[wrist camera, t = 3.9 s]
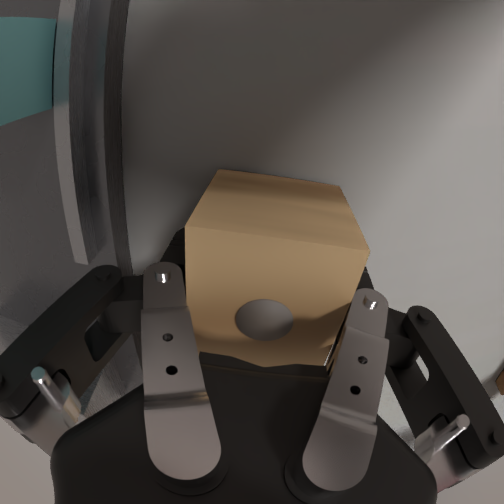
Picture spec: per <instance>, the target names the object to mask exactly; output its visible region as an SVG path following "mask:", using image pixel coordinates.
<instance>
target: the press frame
mask: <svg viewBox="0 0 504 504" xmlns="http://www.w3.org/2000/svg"><path fill="white" fill-rule="evenodd" d="M128 6H129V0H0V17H32V18H48V19H56V26H55V35H54V47H53V63H52V109H49V110H46V111H43V112H39V113H36V114H33V115H30V116H27V117H24V118H21V119H18V120H15V121H13V122H10V123H7V124H5V125H2V126H0V355H1V354H2V353H3V352H4V351H5V350H6V349H7V348H8V346H9V345H10V344H11V343H12V342H13V341H14V340H15V339H16V338H17V337H18V336H19V335H20V334H21V333H22V332H23V331H24V330H25V329H26V328H28V327H29V326H30V325H31V324H32V323H33V322H34V321H35V320H36V319H37V318H38V317H39V316H40V315H41V314H42V313H43V312H44V311H45V310H46V309H47V308H49V307H50V306H51V305H52V304H53V303H54V302H55V301H56V300H57V299H58V298H59V297H61V296H62V295H63V294H64V293H65V292H66V291H67V290H68V289H70V288H71V287H72V286H73V285H74V284H75V283H76V282H78V281H79V280H80V279H81V278H82V277H83V276H84V275H86V274H87V273H88V272H89V271H90V270H92V269H93V268H95V267H97V266H101V265H114V266H116V267H118V268H119V269H120V270H121V272H122V277H126V276H133V272H132V265H131V258H130V250H129V242H128V234H127V225H126V214H125V203H124V190H123V175H122V152H121V89H122V68H123V53H124V41H125V31H126V22H127V14H128ZM96 320H97V318H96V319H95V320H94V321H93V322H92V323H91V324H90V325H89V326H88V328H87V329H86V331H87V330H88V329H89V328H90V327H91V326H92V324H93V323H94V322H95V321H96ZM86 331H85V332H86ZM142 383H143V368H142V345H141V332H132V334H131V335H130V336H129V338H128V339H127V340H126V341H125V342H124V344H123V345H122V346H121V347H120V349H119V350H118V351H117V352H116V353H115V355H114V356H113V357H112V358H111V360H110V361H109V362H108V363H107V365H106V366H105V367H104V368H103V370H102V371H101V372H100V373H99V375H98V376H97V377H96V378H95V380H94V381H93V382H92V383H91V385H90V386H89V387H88V388H87V390H86V391H85V392H84V394H83V395H82V396H81V397H80V399H79V400H80V402H81V412H80V414H79V416H78V421H77V423H76V424H75V425H77V424H79V423H80V422H82V421H84V420H85V419H87V418H89V417H90V416H92V415H93V414H95V413H97V412H98V411H100V410H102V409H103V408H105V407H106V406H108V405H110V404H111V403H113V402H114V401H116V400H118V399H119V398H121V397H122V396H124V395H125V394H127V393H129V392H130V391H132V390H133V389H135V388H136V387H138V386H139V385H141V384H142Z"/></svg>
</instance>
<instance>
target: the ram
mask: <svg viewBox="0 0 504 504" xmlns="http://www.w3.org/2000/svg"><path fill="white" fill-rule="evenodd" d="M55 26H56V19H48V18H32V17H0V126H2V125H5V124H7V123H10V122H13V121H15V120H18V119H21V118H24V117H27V116H30V115H33V114H36V113H39V112H43V111H46V110H49V109H52V63H53V47H54V35H55Z"/></svg>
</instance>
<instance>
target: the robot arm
mask: <svg viewBox="0 0 504 504" xmlns="http://www.w3.org/2000/svg"><path fill="white" fill-rule="evenodd" d="M96 318H97V320H96V321H95V322H94V323H93V324H92V326H91V327H90V328H89V329H88V330H87V331H86V329H87V328H88V326H89V325H90V324H91V323H92V322H93V321H94V320H95V319H96ZM85 331H86V332H85ZM132 332H141V345H142V368H143V383H142V384H141V385H139V386H138V387H136V388H135V389H133V390H132V391H130V392H129V393H127V394H125V395H124V396H122V397H121V398H119V399H118V400H116V401H114V402H113V403H111V404H110V405H108V406H106V407H105V408H103V409H102V410H100V411H98V412H97V413H95V414H93V415H92V416H90V417H89V418H87V419H85V420H84V421H82V422H80V423H79V424H77V425H75V424H76V423H77V421H78V416H79V414H80V412H81V402H80V400H79V399H80V397H81V396H82V395H83V394H84V392H85V391H86V390H87V388H88V387H89V386H90V385H91V383H92V382H93V381H94V380H95V378H96V377H97V376H98V375H99V373H100V372H101V371H102V370H103V368H104V367H105V366H106V365H107V363H108V362H109V361H110V360H111V358H112V357H113V356H114V355H115V353H116V352H117V351H118V350H119V349H120V347H121V346H122V345H123V344H124V342H125V341H126V340H127V339H128V338H129V336H130V335H131V334H132ZM419 355H420V356H421V358H422V360H423V361H424V363H425V365H426V367H427V368H428V371H429V379H428V381H427V380H426V378H425V377H424V375H423V373H422V371H421V369H420V368H419V366H418V364H417V362H416V359H417V358H418V357H419ZM385 375H386V377H387V379H388V381H389V383H390V385H391V388H392V390H393V392H394V394H395V396H396V398H397V400H398V402H399V404H400V406H401V408H402V411H403V413H404V415H405V417H406V419H407V421H408V424H409V426H410V428H411V430H412V432H413V435H414V437H415V439H416V440H415V444H414V451H413V450H412V449H411V448H410V447H409V446H408V445H407V444H406V443H405V442H404V441H403V440H402V439H401V438H400V437H399V436H398V435H397V434H396V433H395V432H394V431H393V430H392V429H391V428H390V426H389V425H388V424H387V423H386V422H385V421H384V420H383V419H382V418H381V417H380V416H379V415H378V414H377V412H378V407H379V402H380V397H381V392H382V387H383V381H384V376H385ZM0 417H1V418H3V420H5V421H6V422H7V423H8V424H9V425H10V426H11V427H12V428H13V429H14V430H15V431H17V432H18V433H20V434H21V435H22V436H23V437H24V438H25V439H27V440H28V441H29V442H31V443H34V444H36V445H37V446H38V447H40V448H41V449H42V450H43V451H44V452H46V453H47V454H48V455H49V456H51V460H50V463H51V464H50V469H51V475H52V480H53V485H54V492H55V493H54V494H55V504H436V500H437V493H439V492H441V491H442V490H444V489H446V488H450V487H452V486H454V485H456V484H458V483H460V482H461V481H463V480H465V479H467V478H469V477H470V476H472V475H474V474H476V473H477V472H479V471H480V470H482V469H484V468H485V467H487V466H489V465H490V464H492V463H493V462H495V461H496V460H498V459H499V458H500V457H502V456H503V455H504V423H503V421H502V419H501V418H500V416H499V414H498V412H497V410H496V408H495V407H494V405H493V403H492V401H491V400H490V398H489V396H488V394H487V393H486V391H485V389H484V388H483V386H482V384H481V383H480V381H479V379H478V378H477V376H476V375H475V373H474V371H473V370H472V368H471V367H470V365H469V364H468V362H467V360H466V359H465V357H464V356H463V354H462V353H461V351H460V350H459V348H458V347H457V345H456V344H455V342H454V341H453V339H452V338H451V337H450V335H449V334H448V332H447V331H446V329H445V328H444V326H443V325H442V324H441V322H440V321H439V320H438V318H437V317H436V315H435V314H434V313H433V312H432V311H430V310H429V309H427V308H425V307H423V306H412V307H410V308H409V310H408V312H407V313H406V314H405V313H402V312H399V311H396V310H394V309H391V308H389V307H388V301H387V299H386V298H385V297H384V296H383V295H382V294H381V293H379V292H378V291H375V290H374V287H373V285H372V282H371V279H370V276H369V274H368V273H367V268H366V267H364V270H363V273H362V275H361V278H360V281H359V283H358V286H357V288H356V291H355V294H354V296H353V299H352V301H351V304H350V306H349V308H348V311H347V313H346V316H345V318H344V320H343V323H342V325H341V327H340V330H339V332H338V334H337V336H336V339H335V341H334V343H333V346H332V348H331V351H330V354H329V357H328V360H327V363H326V365H325V366H320V365H307V364H289V365H281V366H272V367H262V366H258V365H255V364H252V363H249V362H246V361H244V360H241V359H238V358H235V357H232V356H227V355H220V354H214V353H208V352H202V351H200V353H199V356H198V351H197V346H196V341H195V336H194V330H193V325H192V319H191V314H190V308H189V306H187V301H186V269H185V227H184V228H182V229H181V230H179V231H178V232H176V234H175V236H174V237H173V240H172V241H171V243H170V245H169V246H168V248H167V250H166V251H165V253H164V255H163V257H162V258H161V260H160V262H157V263H154V264H152V265H150V266H148V267H147V268H146V269H145V271H144V274H143V275H139V276H126V277H122V272H121V270H120V269H119V268H118V267H116V266H114V265H101V266H97V267H95V268H93V269H92V270H90V271H89V272H88V273H87V274H86V275H84V276H83V277H82V278H81V279H80V280H79V281H78V282H76V283H75V284H74V285H73V286H72V287H71V288H70V289H68V290H67V291H66V292H65V293H64V294H63V295H62V296H61V297H59V298H58V299H57V300H56V301H55V302H54V303H53V304H52V305H51V306H50V307H49V308H47V309H46V310H45V311H44V312H43V313H42V314H41V315H40V316H39V317H38V318H37V319H36V320H35V321H34V322H33V323H32V324H31V325H30V326H29V327H28V328H26V329H25V330H24V331H23V332H22V333H21V334H20V335H19V336H18V337H17V338H16V339H15V340H14V341H13V342H12V343H11V344H10V345H9V346H8V348H7V349H6V350H5V351H4V352H3V353H2V354H1V355H0Z"/></svg>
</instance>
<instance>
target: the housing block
mask: <svg viewBox="0 0 504 504" xmlns="http://www.w3.org/2000/svg"><path fill="white" fill-rule="evenodd" d="M369 254H370V250H369V247H368V245H367V243H366V241H365V238H364V236H363V234H362V232H361V230H360V228H359V225H358V223H357V221H356V219H355V217H354V215H353V213H352V211H351V209H350V207H349V204H348V202H347V200H346V198H345V196H344V194H343V192H342V190H341V188H340V187H339V186H335V185H329V184H324V183H318V182H312V181H305V180H299V179H293V178H286V177H279V176H272V175H265V174H257V173H249V172H241V171H232V170H223V169H218V171H217V172H216V174H215V176H214V177H213V179H212V181H211V182H210V184H209V186H208V187H207V189H206V191H205V192H204V194H203V196H202V197H201V199H200V201H199V202H198V204H197V206H196V208H195V209H194V211H193V213H192V214H191V216H190V218H189V220H188V221H187V223H186V225H185V269H186V301H187V306H189V308H190V314H191V319H192V325H193V330H194V336H195V341H196V346H197V351H198V356H199V353H200V351H202V352H208V353H214V354H220V355H227V356H232V357H235V358H238V359H241V360H244V361H246V362H249V363H252V364H255V365H258V366H262V367H272V366H281V365H289V364H307V365H320V366H323V365H324V363H325V361H326V358H327V356H328V354H329V352H330V350H331V348H332V345H333V343H334V341H335V339H336V336H337V334H338V332H339V330H340V327H341V325H342V323H343V320H344V318H345V316H346V313H347V311H348V308H349V306H350V304H351V301H352V299H353V296H354V294H355V291H356V288H357V286H358V283H359V281H360V278H361V275H362V273H363V270H364V267H365V265H366V262H367V259H368V256H369Z"/></svg>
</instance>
